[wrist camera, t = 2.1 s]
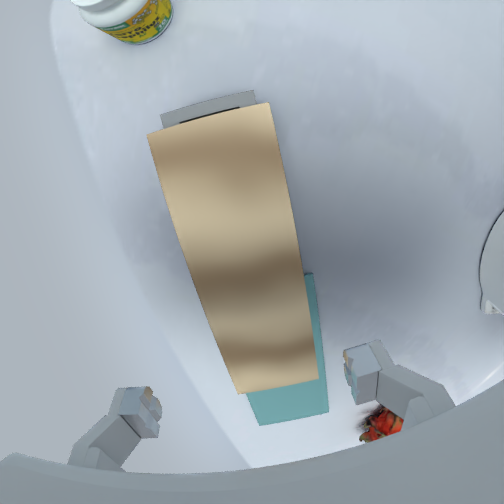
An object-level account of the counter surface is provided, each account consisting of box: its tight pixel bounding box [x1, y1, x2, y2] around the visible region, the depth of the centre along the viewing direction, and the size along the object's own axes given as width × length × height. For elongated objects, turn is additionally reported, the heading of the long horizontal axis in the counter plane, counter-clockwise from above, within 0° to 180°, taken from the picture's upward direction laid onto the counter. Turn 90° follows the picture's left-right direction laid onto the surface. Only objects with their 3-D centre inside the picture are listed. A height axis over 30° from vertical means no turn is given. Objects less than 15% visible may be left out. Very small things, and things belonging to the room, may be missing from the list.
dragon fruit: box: [359, 407, 404, 443], centre depth 37 cm, size 8×8×12 cm
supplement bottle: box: [70, 0, 173, 45], centre depth 14 cm, size 5×5×10 cm
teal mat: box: [246, 273, 329, 426], centre depth 34 cm, size 23×10×1 cm, turn 13°
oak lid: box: [147, 102, 319, 394], centre depth 20 cm, size 20×7×3 cm, turn 13°
